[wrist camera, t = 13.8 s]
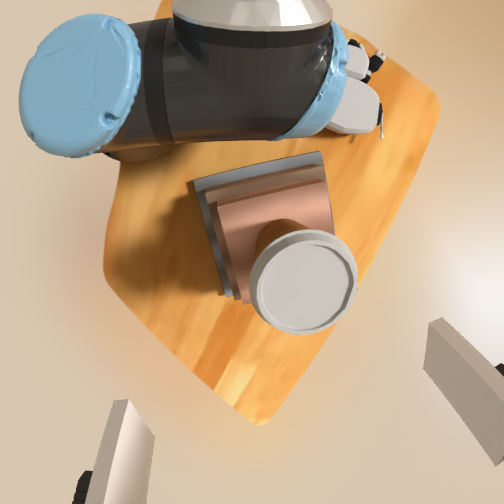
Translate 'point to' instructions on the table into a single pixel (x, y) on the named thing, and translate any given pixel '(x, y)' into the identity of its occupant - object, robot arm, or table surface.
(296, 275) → the disposable coffee cup
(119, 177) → the table surface
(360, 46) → the robot toy
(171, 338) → the table surface
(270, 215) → the pink brown stepped block
